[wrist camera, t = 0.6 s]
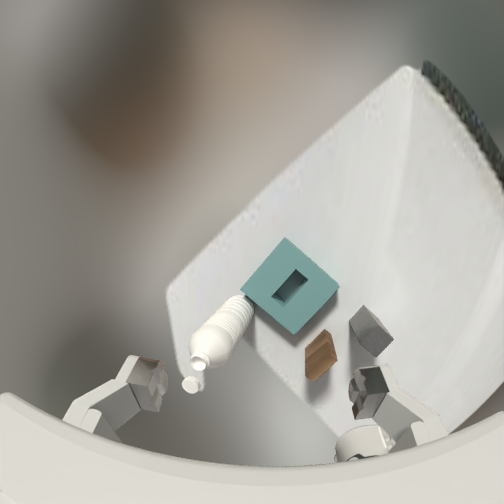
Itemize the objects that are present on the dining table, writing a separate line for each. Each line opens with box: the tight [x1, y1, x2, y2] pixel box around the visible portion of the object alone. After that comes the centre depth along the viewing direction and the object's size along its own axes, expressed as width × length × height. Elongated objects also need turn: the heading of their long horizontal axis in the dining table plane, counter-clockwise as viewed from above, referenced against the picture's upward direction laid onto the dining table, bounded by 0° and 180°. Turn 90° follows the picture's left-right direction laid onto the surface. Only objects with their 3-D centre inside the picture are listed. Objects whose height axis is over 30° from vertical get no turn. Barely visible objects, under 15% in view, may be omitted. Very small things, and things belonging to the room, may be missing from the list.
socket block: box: [240, 238, 339, 335], centre depth 53 cm, size 14×13×4 cm
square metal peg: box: [349, 305, 394, 357], centre depth 47 cm, size 4×4×12 cm
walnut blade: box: [305, 329, 337, 382], centre depth 49 cm, size 2×6×12 cm, turn 139°
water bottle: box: [182, 295, 254, 393], centre depth 45 cm, size 9×6×25 cm
